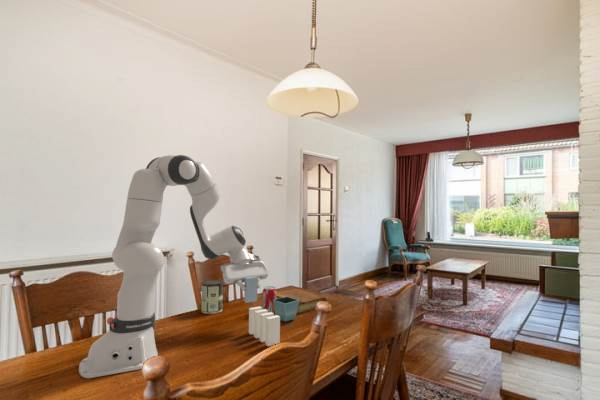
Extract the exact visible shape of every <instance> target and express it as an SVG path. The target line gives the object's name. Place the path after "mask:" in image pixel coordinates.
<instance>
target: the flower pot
mask: <svg viewBox="0 0 600 400" xmlns="http://www.w3.org/2000/svg"><path fill="white" fill-rule="evenodd" d="M273 303H274V310H275V312H274V313H275V316H276V315H278V316H280V321H282V322H284V323H285V322H290V321H292V320H294V319H295V318H296V315H297V314H298V313H297V311H298V305H299V300H297V299H294V298H291V297H283V298H278V299H274V300H273Z"/></svg>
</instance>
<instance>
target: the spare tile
mask: <svg viewBox="0 0 600 400" xmlns="http://www.w3.org/2000/svg"><path fill="white" fill-rule="evenodd" d="M244 285H246V287H247V289H246V290H245V291H244V297H243V298H244V303H246V304H248V303H254V302H258V289H257V277H256V276H254V277H247V278H245V282H244Z"/></svg>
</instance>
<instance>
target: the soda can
mask: <svg viewBox="0 0 600 400" xmlns="http://www.w3.org/2000/svg"><path fill="white" fill-rule="evenodd" d="M261 297H262V298H261V307H262V310H263V309H266V310H268V313H269V312H272V313H275V310H274V303H273V300H274V299H277V289H276V287H275V286H274V285H273V286H269V285H268V286H267V285H266V286H264V287H263V289H262V293H261Z"/></svg>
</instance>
